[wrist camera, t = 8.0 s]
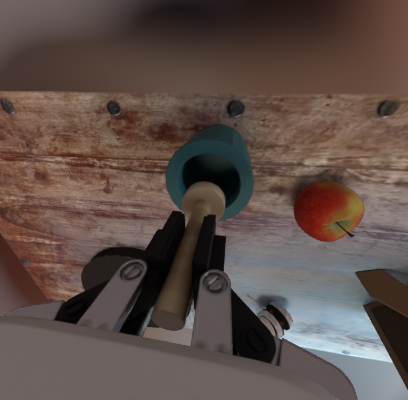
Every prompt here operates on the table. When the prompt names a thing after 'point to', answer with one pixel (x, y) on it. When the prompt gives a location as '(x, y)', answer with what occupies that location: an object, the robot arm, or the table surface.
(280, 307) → the headphones
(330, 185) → the apple
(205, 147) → the jar
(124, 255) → the disc
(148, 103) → the table surface
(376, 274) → the photo frame
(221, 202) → the rod on round base
